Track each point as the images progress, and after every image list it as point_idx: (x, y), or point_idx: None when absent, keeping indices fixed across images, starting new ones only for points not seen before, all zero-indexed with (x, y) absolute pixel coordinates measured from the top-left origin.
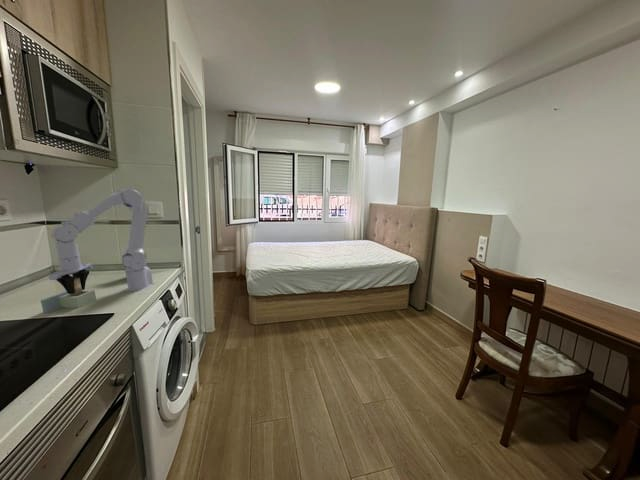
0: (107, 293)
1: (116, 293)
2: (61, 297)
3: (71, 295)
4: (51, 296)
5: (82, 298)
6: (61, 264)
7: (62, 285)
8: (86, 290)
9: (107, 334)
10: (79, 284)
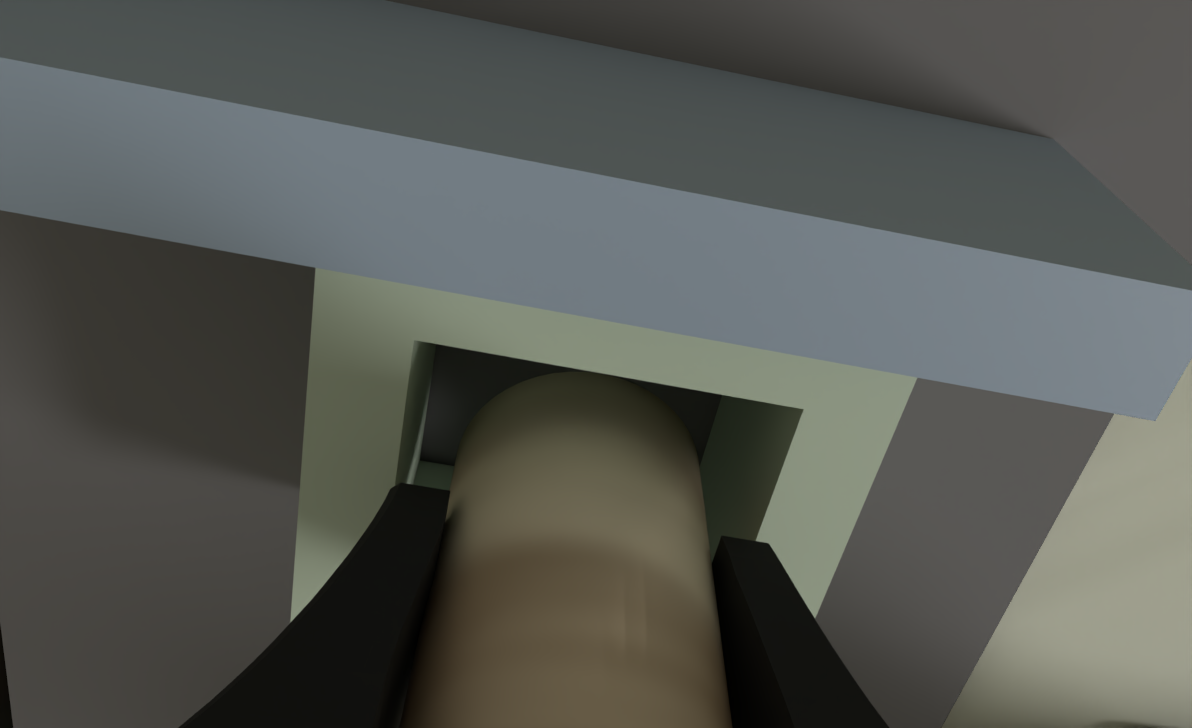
0: (1158, 513)
1: (1068, 666)
2: (316, 319)
3: (453, 477)
4: (195, 120)
5: None
6: None
7: (233, 683)
8: (802, 593)
9: None
10: None
